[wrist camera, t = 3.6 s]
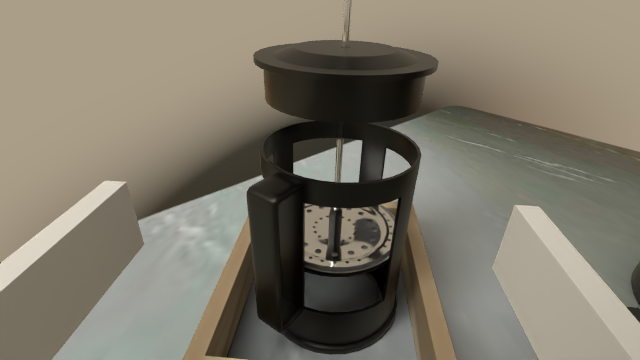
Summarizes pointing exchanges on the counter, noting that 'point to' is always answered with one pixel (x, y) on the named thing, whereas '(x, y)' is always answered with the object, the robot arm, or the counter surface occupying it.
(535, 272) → the robot arm
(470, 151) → the counter surface
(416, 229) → the wooden frame
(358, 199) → the french press
